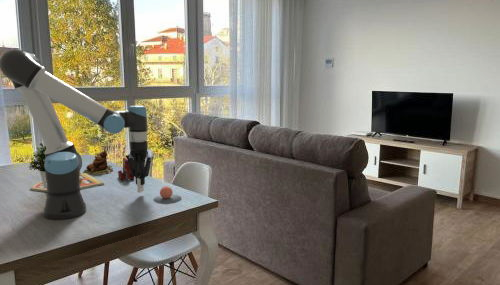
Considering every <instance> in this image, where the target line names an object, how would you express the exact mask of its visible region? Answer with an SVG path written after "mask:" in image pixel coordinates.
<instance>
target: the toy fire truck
mask: <svg viewBox="0 0 500 285" xmlns="http://www.w3.org/2000/svg"><path fill="white" fill-rule="evenodd" d="M117 176H118V178H119V181H121V182H122V181H124V180H132V181H133V180H135V177H134V176H132V175H131V171H130V167H129V163H128V160H127V158H126V157H122V170H118V171H117Z"/></svg>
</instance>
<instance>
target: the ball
mask: <svg viewBox="0 0 500 285" xmlns="http://www.w3.org/2000/svg"><path fill="white" fill-rule="evenodd" d="M172 194H173V189H172V188H171V187H170V186H167V185H166V186H163V187H162V188H161V189H160V190H159V196H160V195H161V197H162V198H164V199H168V198H170V197H171V196H172Z"/></svg>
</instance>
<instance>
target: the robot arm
mask: <svg viewBox="0 0 500 285" xmlns="http://www.w3.org/2000/svg"><path fill="white" fill-rule="evenodd" d="M0 71H1V73H2V74H3V75H4V76H5V78H7V79H9V80H10V81H11V83H12V85H13V88H14V89H15V90H16V91H18V92H20V93H21V94H22V97H23V99H24V101H25V103H26V105H27V109H28V111H29V112H30V114H31V117H32V119H33V122H34V124H35V126H36V128H37V130H38V133H39V135H40V137H41V139H42V141H43V144H44V145H45V148H46V149H45V151H44V153H43V154H44V156H45V158H44V164H43V166H44V172H45V180H46V185H47V192H46V193H47V194H46V200H45V206H44V208H43V217H44V218H45V219H48V220H67V219H72V218H77V217H78V216H81V215H83V214H84V213H85V212H87V204H86V203H85V200H84V198H83V195H82V194H81V189H80V181H79V172H80V173H81V169H82V167H83V158H82V156H81V154H80V153H79V152H78V151H77V148H76V147H75V144H74V143H73V142H72V141H69V140H68V138H67V136H66V132H65V130H64V128H63V125H62V124H61V120H60V119H59V117H58V114H57V111H56V110H55V108H54V105H53V103H52V101H51V99H52V100H54V101H56V102H58V104H60V105H63V106H64V107H66V108H68V109H70V110H72V111H74V112H75V113H77V114H78V115H80V116H82V117H83V118H85V119H87V120H89V121H91V122H92V123H95V124H96V125H97V126H99V127H100V128H101V129H104V130H105V131H107V133H109V134H113V135H117V134H119V133H121V132H122V131H123V130H124V129H128V128H129V140H130V141H129V147H130V148H129V149H130V152H129V154H126V155H125V158H126V159H127V160H128V163H129V167H130V171H131V175H132V176H134V179H135V185H136V189H137V191H136V192H137V193H142V192H144V190H145V187H144V186H145V183H146V180H145V178H146V177H149V175H150V171H151V170H150V169H151V163H152V161H153V159H154V156H151V155H149V152H148V146H149V144H148V116H147V108H146V106H145V105H129V106H128V109H126V110H111V109H110V108H108V107H107V106H104V105H103V104H101V103H99V102H98V101H96V100H94V99H93V98H91V97H89V96H88V95H87V94H84V93H83V92H81V91H80V90H78V89H76V88H75V87H73V86H71V85H70V84H67V83H66V82H64V81H63V80H61V79H59V78H58V77H56V76H54V75H52V74H51V73H50V72H48V71H46V68H45V67H44V66H43V65H42V62H41V60H40V59H39V58H38V56H36V55H35V54H34V53H32V52H30V51H27V50H22V49H10V50H7V51H6V52H4V53H3V54H2V55H1V57H0Z"/></svg>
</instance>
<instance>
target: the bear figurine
mask: <svg viewBox="0 0 500 285" xmlns="http://www.w3.org/2000/svg"><path fill="white" fill-rule="evenodd" d="M107 157H108V153H107V150H106V149H105V150H103V151H100V152H98V153H96V155H95V156H94V159H93V162H91V163H89V164H87V166H86V167H85V169H84V170H83V172H82V173H87V174H89V175H91V176H93V175H106V174H109V175H110V174H111V173H112V171H113V165H108V161H107Z"/></svg>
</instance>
